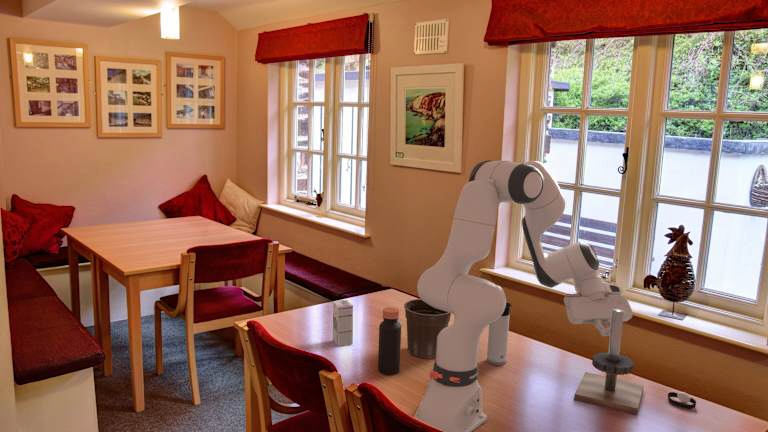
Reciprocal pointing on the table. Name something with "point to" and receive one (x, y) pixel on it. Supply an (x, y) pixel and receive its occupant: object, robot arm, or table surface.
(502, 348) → the travel mug
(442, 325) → the plant pot
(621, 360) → the grey gear
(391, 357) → the bottle
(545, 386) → the table surface
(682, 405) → the watch
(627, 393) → the stand
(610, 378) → the metallic rounded rod
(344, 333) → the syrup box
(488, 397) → the table surface
